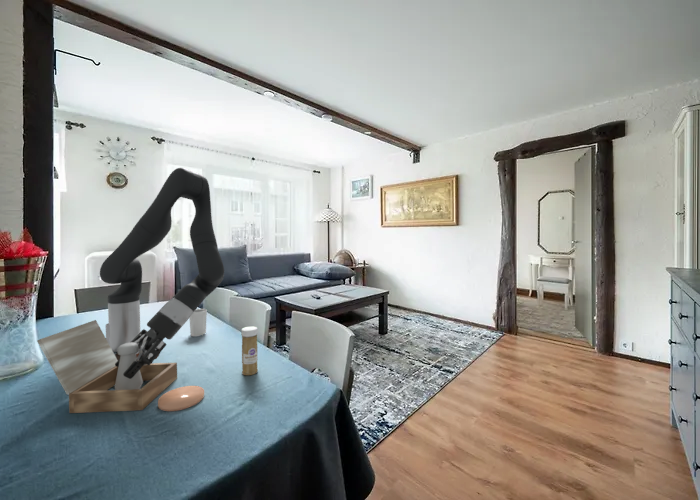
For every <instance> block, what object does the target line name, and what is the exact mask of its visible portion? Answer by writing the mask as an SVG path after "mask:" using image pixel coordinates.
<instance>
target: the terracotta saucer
mask: <svg viewBox="0 0 700 500" xmlns="http://www.w3.org/2000/svg"><path fill="white" fill-rule="evenodd" d="M204 397H205V389H204V388H203V387H201V386H199V385H198V386H197V385H185V386H180V387H177V388H176V387H175V388H174V389H170V390H168V391H167V392H165V393H163V394H162V395H161V396H160V397H159V398H158V400H157V407H158V409H159V410H161V411H163V412H178V411H182V410H186V409H188V408H191V407H193V406H196V405H198V404H199V403H200V402H201V401H202V400H203V399H204Z"/></svg>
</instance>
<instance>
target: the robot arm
mask: <svg viewBox="0 0 700 500" xmlns="http://www.w3.org/2000/svg"><path fill="white" fill-rule="evenodd" d="M180 198H183V199H187V200H190V201H192V203H193V205H194V208H195V213H194V214H195V215H194V217H193V219H192V222H191V225H190V228H189V235H190V236H189V237H190V242H191V246H192V249H193V253H194V256H195V257H196V264H197V269H198V274H197V275H196V276H195V278H193V279H192V280H191V282H190V283H187V284H185V285H184V286H182V287H181V289H179V290H178V292H176V293H175V294H174V296H172V298H171V299H169V300H168V301H167V302H166V303H165V304H164V305H163V306H162V307H161V308H160V309H159V310H158V311H157V312H156V313H155V314H154V316H152V317H151V318H150V319H149V321H148V322H147V323H146V326H147V327H148V328H150V329H148V330H146V329H145V328H143V329H142V330H141V306H140V305H141V304H140V301H141V300H140V296H141V293H142V288H143V287H142V286H143V268H142V263H141V262H140V260H139V259H138V258H139V257H141V256H142V255H143V254H146V253H148V252H149V251H150V250H153V249H155V247H157V246H158V245H159V244H160V243H162V242H163V240H164V239H165V238H166V236H167V235H168V234H169V233H170V231H171V229H172V222H173V221H172V209H173V207H174V205H175V204H176V202H177V201H178V200H179V199H180ZM212 217H213V216H212V203H211V192H210V185H209V181H208V179H207V178H206V177H205V176H204V175H202V174H200V173H197V172H195V171H193V170H190V169H187V168H185V167H178V168H175V169H174V170H173V171H172V172H170V174H169V175H168V177H167V178H166V180H165V181H164V184H163V185H162V187H161V188H160V191H159V192H158V193H157V195H156V197H155V199H154V200H153V201H152V203H151V204H150V206H149V207H148V208H147V210H146V211H145V212H144V214H143V215H142V216H141V217H140V218H139V220H138V221H137V222H136V224H135V225H134V226H133V228H132V229H131V231H130V232H129V234H127V236H126V237H125V238H124V240H123V241H122V242H121V243H120V244H119V245H118V247H116V249H114V251H112V253H111V254H109V256H107V257H106V259H105V260H104V261H103V263H102V264H101V267H100V268H99V276H100V279H101V281H103V282H104V283H105V284H110V285H117V284H120V285H119V287H118V288H116V290H114V291H113V292H111V293H109V294H108V295H107V311H108V313H107V316H108V317H107V318H108V323H106V324H105V338H106V340H107V342H108V343H109V345H110V347H111V349H112V351H113V353H117V352H118V351H117V350H118V347H119V346H120V345H122V344H125V343H131V342H134V343H137V344H138V351H137V352H136V354H138V353H139V355H138V357H137V359H136V361H137V362H136V361H134V362H133V363H132V364H131V365H130V367H129V368H128V369H127V370H126V371H125V372H124V373H123V375H124V376H125V377H127V378H129V379H131V378H133V377H134V375H135V374H136V373H137V372H138V371H139V370H140V369H141V367H142V366H143V365H144V366H145V365H146V364H147V365H150V364H151V363H154V361H155V360H156V359H155V358H156V357H157V356H158V355H159V356H160V354H161V352H162V351H163V350H164V349H165V348H166V347H167V343H166V342H164V340H165V338H166V339H167V340H171V339H173V338H174V336H175V335H176V334H178V332H179V331H180V330H181V329H182V327H183V326H184V325H185V324H186V323H187V322H188V321H189V320H190V319H189V318H190V316H191V315H192V313H193V312H194V311H195V310H196V309H198V308H199V306H201V305H202V303H203V301H204V300H206V298H207V297H208V296H209V295H210V294H212V293H213V292H214V291H215V290H216V289H217V288H218V286H219V285H220V284H221V283H222V282H223V280H224V277H225V266H224V263H223V260H222V257H221V254H220V252H219V248H218V243H217V239H216V235H215V231H214V225H213V220H212ZM156 349H157V350H156ZM159 353H160V354H159ZM159 356H158V357H159ZM150 357H151V358H150ZM158 357H157V358H158ZM154 359H155V360H154ZM119 362H120V359H119V360H118V361H117V362H116V363H115V366H117V367H119Z"/></svg>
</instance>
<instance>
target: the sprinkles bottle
mask: <svg viewBox="0 0 700 500" xmlns="http://www.w3.org/2000/svg"><path fill="white" fill-rule="evenodd" d="M258 329H259V328H258V327H257V326H253V325H252V326H245V327H243V328H241V335H240V336H241V341H242V342H241V364H242V368H241V369H242V370H241V374H242V375H243V376H253V375H256V374H257V373H258V371H259V370H258V369H259V368H258V333H259V331H258Z"/></svg>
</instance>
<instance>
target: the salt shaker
mask: <svg viewBox="0 0 700 500" xmlns="http://www.w3.org/2000/svg"><path fill="white" fill-rule="evenodd" d="M117 351H118V354H119V355H121V356H120V362H119V367H118V372H117V377H116V382H115V385H114V390H133V389H141V388H142V387H143V383H144V381H143V380H142V376H141V373H140V370H139V371H138V372H137V373H136V374H135V375H134V377H133V378H131V379H129V378H127V377H125V376H124V375H123V373H124V372H125V371H126V370H127V369H128V368H129V367H130V365H131V364H132V363H133V362H134V361H136V359H137V357H136V352H137V351H138V344H137V343H134V342H131V343H125V344H122V345H120V346H119V347H118V350H117ZM136 362H137V361H136Z"/></svg>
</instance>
